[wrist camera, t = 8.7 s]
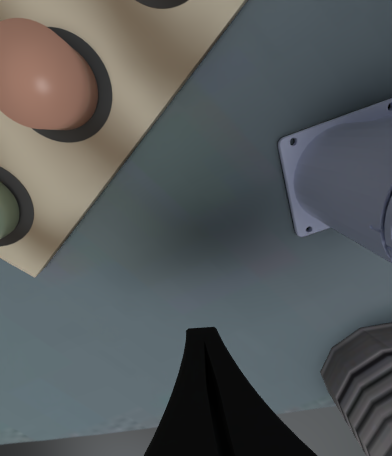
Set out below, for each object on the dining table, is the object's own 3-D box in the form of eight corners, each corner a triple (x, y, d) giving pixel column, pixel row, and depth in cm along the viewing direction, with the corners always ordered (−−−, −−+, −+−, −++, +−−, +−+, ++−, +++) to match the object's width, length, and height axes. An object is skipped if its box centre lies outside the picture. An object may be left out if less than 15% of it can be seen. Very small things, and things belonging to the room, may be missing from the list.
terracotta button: (41, 19, 13) (8, -10, 10) (113, 84, 14) (100, 73, 11) (-1, 91, 14) (-40, 81, 11) (71, 146, 15) (50, 148, 12)
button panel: (114, -204, 11) (105, -255, 10) (259, -15, 14) (268, -33, 13) (-93, 186, 17) (-119, 192, 15) (45, 267, 20) (34, 278, 18)
